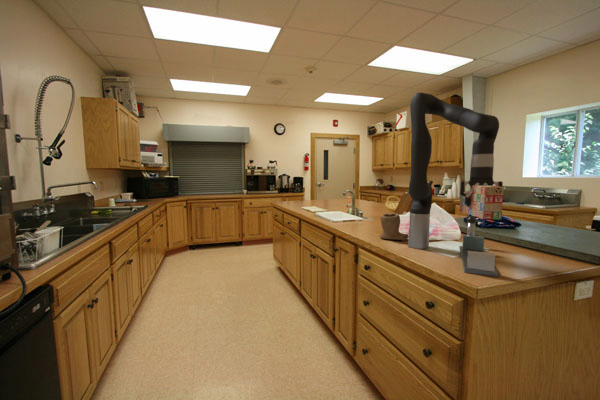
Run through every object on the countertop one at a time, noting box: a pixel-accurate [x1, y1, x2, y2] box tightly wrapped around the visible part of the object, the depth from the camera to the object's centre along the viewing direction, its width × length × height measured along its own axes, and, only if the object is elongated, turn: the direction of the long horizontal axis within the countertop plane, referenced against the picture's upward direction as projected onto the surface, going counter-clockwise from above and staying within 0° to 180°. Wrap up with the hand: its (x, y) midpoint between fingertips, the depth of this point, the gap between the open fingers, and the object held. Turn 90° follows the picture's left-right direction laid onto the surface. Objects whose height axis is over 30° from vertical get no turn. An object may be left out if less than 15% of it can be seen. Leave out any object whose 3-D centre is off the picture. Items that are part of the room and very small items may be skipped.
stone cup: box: [379, 212, 409, 241], centre depth 147 cm, size 15×12×15 cm
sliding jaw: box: [461, 216, 485, 251], centre depth 126 cm, size 8×15×14 cm, turn 151°
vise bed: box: [458, 245, 499, 278], centre depth 109 cm, size 10×36×8 cm, turn 151°
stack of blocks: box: [458, 185, 505, 221], centre depth 105 cm, size 21×6×12 cm, turn 170°
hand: (479, 206), depth 105 cm, fingers closed on stack of blocks, 7 cm apart
